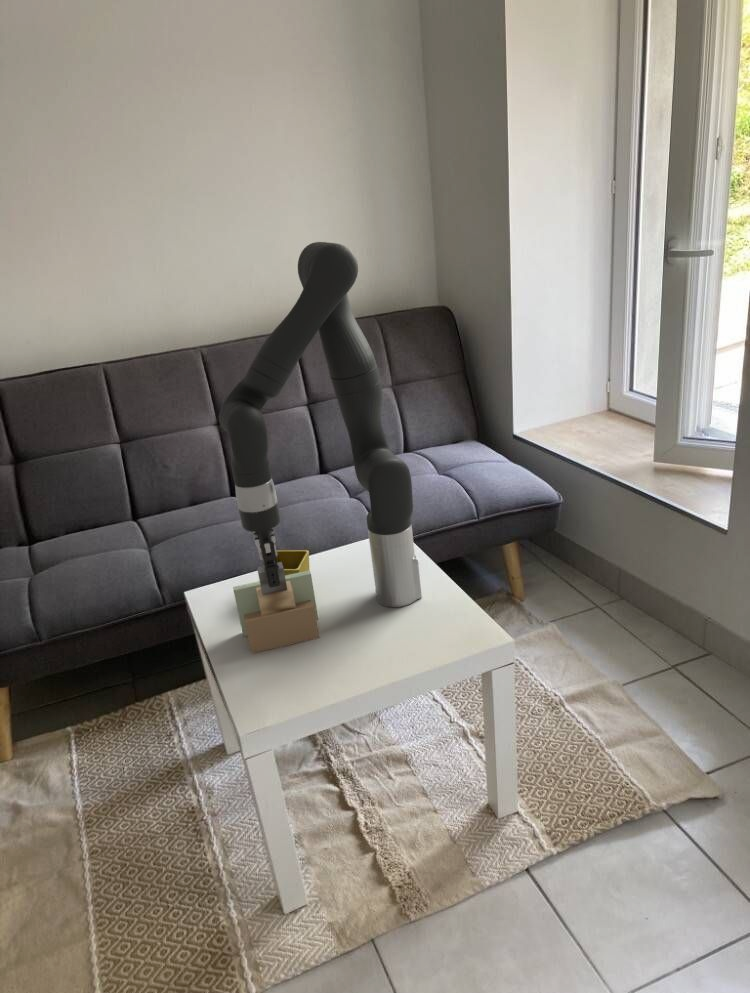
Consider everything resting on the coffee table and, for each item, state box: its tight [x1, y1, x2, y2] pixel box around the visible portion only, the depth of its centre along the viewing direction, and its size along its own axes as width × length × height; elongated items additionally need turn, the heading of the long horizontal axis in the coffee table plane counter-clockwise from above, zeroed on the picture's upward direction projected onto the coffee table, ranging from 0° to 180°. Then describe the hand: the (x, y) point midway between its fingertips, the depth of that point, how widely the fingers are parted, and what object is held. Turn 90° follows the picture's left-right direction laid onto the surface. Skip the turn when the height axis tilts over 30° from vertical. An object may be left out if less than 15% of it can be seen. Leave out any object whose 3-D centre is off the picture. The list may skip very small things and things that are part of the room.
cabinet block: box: [256, 562, 296, 616], centre depth 158 cm, size 7×5×11 cm, turn 103°
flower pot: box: [262, 549, 310, 576], centre depth 176 cm, size 9×9×9 cm
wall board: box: [232, 569, 320, 654], centre depth 161 cm, size 16×9×11 cm, turn 104°
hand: (272, 576), depth 157 cm, fingers open, 8 cm apart
